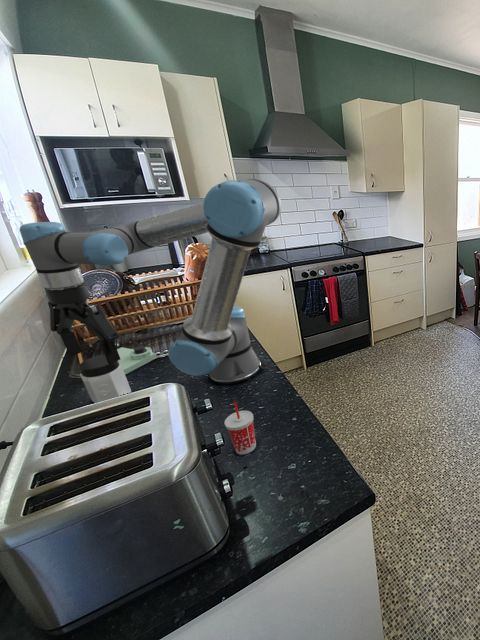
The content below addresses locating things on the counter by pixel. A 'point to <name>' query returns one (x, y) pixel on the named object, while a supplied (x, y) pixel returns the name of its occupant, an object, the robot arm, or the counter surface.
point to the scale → (134, 358)
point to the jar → (103, 378)
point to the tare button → (139, 349)
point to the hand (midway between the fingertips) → (95, 357)
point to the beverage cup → (241, 430)
